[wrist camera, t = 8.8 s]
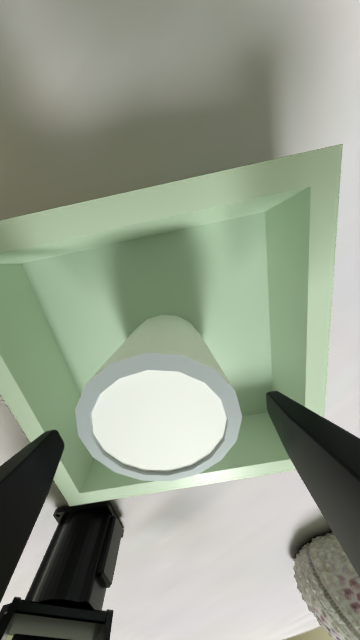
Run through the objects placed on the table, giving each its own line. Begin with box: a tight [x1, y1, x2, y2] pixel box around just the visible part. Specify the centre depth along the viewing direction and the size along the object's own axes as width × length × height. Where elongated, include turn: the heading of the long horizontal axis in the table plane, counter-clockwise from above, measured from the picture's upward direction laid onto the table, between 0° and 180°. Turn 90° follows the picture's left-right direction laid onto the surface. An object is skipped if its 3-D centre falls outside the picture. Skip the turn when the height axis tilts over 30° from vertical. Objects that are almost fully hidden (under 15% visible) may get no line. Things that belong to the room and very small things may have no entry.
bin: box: [0, 144, 343, 506], centre depth 13 cm, size 18×18×5 cm
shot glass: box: [75, 315, 242, 481], centre depth 11 cm, size 7×7×7 cm
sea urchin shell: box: [294, 532, 360, 640], centre depth 22 cm, size 13×14×8 cm
